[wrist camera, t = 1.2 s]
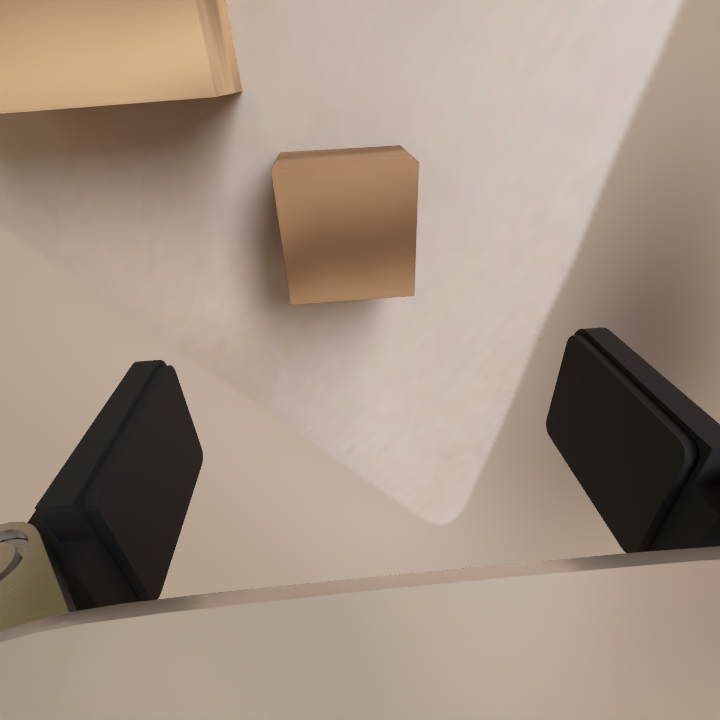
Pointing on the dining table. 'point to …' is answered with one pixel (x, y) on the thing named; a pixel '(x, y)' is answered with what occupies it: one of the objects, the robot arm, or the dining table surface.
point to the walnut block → (347, 222)
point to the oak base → (113, 52)
